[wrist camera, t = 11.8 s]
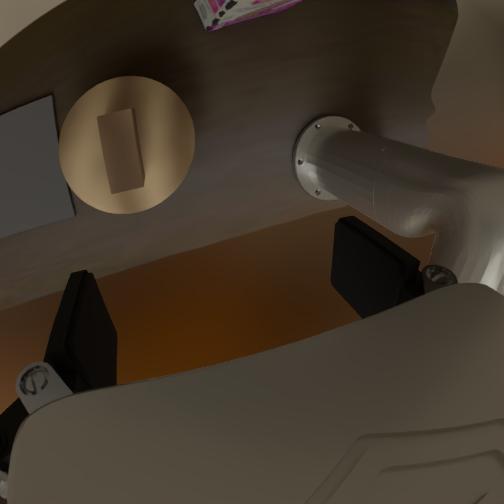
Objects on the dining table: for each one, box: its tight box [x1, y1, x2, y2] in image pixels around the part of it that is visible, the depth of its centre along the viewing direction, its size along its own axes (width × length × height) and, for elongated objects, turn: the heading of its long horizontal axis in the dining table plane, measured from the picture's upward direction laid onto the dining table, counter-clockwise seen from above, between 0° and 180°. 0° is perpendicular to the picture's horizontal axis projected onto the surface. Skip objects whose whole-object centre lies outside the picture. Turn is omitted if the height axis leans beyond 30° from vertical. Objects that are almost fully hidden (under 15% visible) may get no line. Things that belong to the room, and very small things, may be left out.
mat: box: [0, 95, 76, 238], centre depth 27 cm, size 16×16×1 cm
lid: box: [59, 76, 195, 214], centre depth 24 cm, size 14×14×5 cm
